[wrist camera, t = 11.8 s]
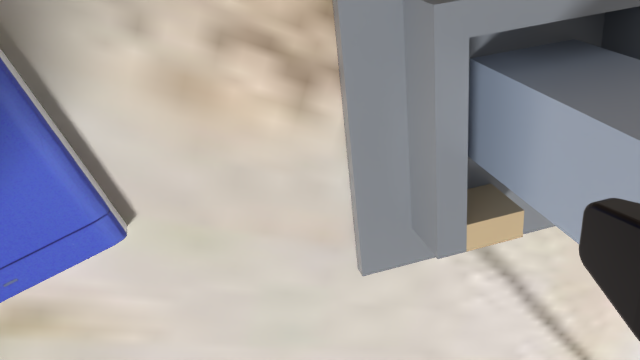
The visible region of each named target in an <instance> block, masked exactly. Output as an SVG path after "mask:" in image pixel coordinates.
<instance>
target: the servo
mask: <svg viewBox="0 0 640 360" xmlns="http://www.w3.org/2000/svg"><path fill="white" fill-rule="evenodd" d="M468 157H469V158H471V159H472V160H473V161H474V162H476V163H477V164H478V165H479V166H481V167H482V168H483V169H485V170H486V171H487V172H488V173H490V174H491V175H492V176H493V177H495V178H496V179H497V180H498V181H500V182H501V183H502V184H504V185H505V186H506V187H507V188H509V189H510V190H511V191H512V192H514V193H515V194H516V195H517V196H519V197H520V198H521V199H523V200H524V201H525V202H526V203H528V204H529V205H530V206H531V207H533V208H534V209H535V210H536V211H538V212H539V213H540V214H542V215H543V216H544V217H545V218H547V219H548V220H549V221H550V222H552V223H553V224H554V225H555V226H557V227H558V228H559V229H561V230H562V231H563V232H564V233H566V234H567V235H568V236H569V237H571V238H572V239H573V240H574V241H576V242H577V243H578V244H579V243H580V235H581V227H582V219H583V213H584V210H585V208H586V206H587V205H588V204H590V203H592V202H596V201H600V200H604V199H608V198H619V199H623V200H627V201H632V202H636V203H640V60H638V59H635V58H632V57H629V56H626V55H623V54H620V53H616V52H613V51H610V50H607V49H604V48H601V47H598V46H595V45H591V44H588V43H585V42H582V41H579V40H576V39H571V40H566V41H561V42H555V43H550V44H545V45H539V46H534V47H528V48H523V49H518V50H512V51H507V52H502V53H496V54H491V55H486V56H480V57H475V58H470V70H469V122H468Z"/></svg>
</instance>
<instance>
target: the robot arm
mask: <svg viewBox="0 0 640 360" xmlns="http://www.w3.org/2000/svg"><path fill="white" fill-rule="evenodd" d="M579 255H580V258H581V261H582V263H583V265H584V266H585V268H586V269H587V270H588V272H589V273H590V274H591V276H592V277H593V279H594V280H595V281H596V283H597V284H598V285H599V287H600V288H601V290H602V291H603V292H604V294H605V295H606V296H607V298H608V299H609V301H610V302H611V303H612V305H613V306H614V307H615V309H616V310H617V312H618V313H619V314H620V316H621V317H622V318H623V320H624V321H625V323H626V324H627V325H628V327H629V328H630V329H631V331H632V332H633V333H634V335H635V336H636V337H637V339H638V340H639V341H640V203H636V202H632V201H627V200H623V199H619V198H608V199H604V200H600V201H596V202H592V203H590V204H588V205H587V206H586V208H585V210H584V213H583V219H582V227H581V235H580V243H579Z"/></svg>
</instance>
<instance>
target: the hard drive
mask: <svg viewBox="0 0 640 360" xmlns="http://www.w3.org/2000/svg"><path fill="white" fill-rule="evenodd" d="M126 236H127V224H126V223H125V222H124V220H123V219H122V217H121V216H120V215H119V213H118V212H117V210H116V209H115V208H114V206H113V205H112V204H111V202H110V201H109V199H108V198H107V196H106V195H105V193H104V192H103V191H102V189H101V188H100V186H99V185H98V184H97V182H96V181H95V179H94V178H93V177H92V175H91V174H90V172H89V171H88V170H87V168H86V167H85V165H84V164H83V163H82V161H81V160H80V158H79V157H78V156H77V154H76V153H75V151H74V150H73V149H72V147H71V146H70V144H69V143H68V142H67V140H66V139H65V137H64V136H63V135H62V133H61V132H60V131H59V129H58V128H57V126H56V125H55V124H54V122H53V121H52V119H51V118H50V117H49V115H48V114H47V113H46V111H45V110H44V108H43V107H42V106H41V104H40V103H39V101H38V100H37V99H36V97H35V96H34V94H33V93H32V92H31V90H30V89H29V87H28V86H27V85H26V83H25V82H24V81H23V79H22V78H21V76H20V75H19V74H18V72H17V71H16V69H15V68H14V67H13V65H12V64H11V62H10V61H9V60H8V58H7V57H6V56H5V54H4V53H3V51H2V50H1V49H0V303H1V302H3V301H5V300H6V299H8V298H10V297H12V296H14V295H16V294H18V293H20V292H22V291H24V290H26V289H28V288H30V287H32V286H34V285H36V284H38V283H40V282H42V281H44V280H46V279H48V278H50V277H52V276H54V275H56V274H58V273H60V272H62V271H64V270H66V269H68V268H70V267H72V266H74V265H76V264H78V263H80V262H82V261H84V260H86V259H89V258H90V257H92V256H94V255H96V254H98V253H100V252H102V251H104V250H106V249H108V248H110V247H112V246H114V245H115V244H117V243H119V242H120V241H122V240H123V239H124V238H125V237H126Z"/></svg>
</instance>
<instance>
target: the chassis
mask: <svg viewBox="0 0 640 360" xmlns="http://www.w3.org/2000/svg"><path fill="white" fill-rule="evenodd" d="M333 10H334V20H335V31H336V41H337V52H338V62H339V73H340V83H341V94H342V104H343V115H344V126H345V136H346V147H347V157H348V168H349V178H350V189H351V199H352V210H353V220H354V231H355V241H356V252H357V262H358V269H359V271H360V273H361V274H362V276H366V275H370V274H373V273H377V272H381V271H385V270H389V269H392V268H396V267H400V266H404V265H408V264H412V263H415V262H419V261H423V260H427V259H431V258H435V257H436V258H437V259H440V258H444V257H448V256H451V255H455V254H459V253H463V252H467V251H470V250H474V249H478V248H482V247H486V246H490V245H493V244H497V243H501V242H505V241H509V240H512V239H516V238H520V237H523V234H526V233H530V232H534V231H538V230H541V229H545V228H549V227H553V226H555V225H554V224H553V223H552V222H550V221H549V220H548V219H547V218H545V217H544V216H543V215H542V214H540V213H539V212H538V211H536V210H535V209H534V208H533V207H531V206H530V205H529V204H528V203H526V202H525V201H524V200H523V199H521V198H520V197H519V196H517V195H516V194H515V193H514V192H512V191H511V190H510V189H509V188H507V187H506V186H505V185H504V184H502V183H501V182H500V181H498V180H497V179H496V178H495V177H493V176H492V175H491V174H490V173H488V172H487V171H486V170H485V169H483V168H482V167H481V166H479V165H478V164H477V163H476V162H474V161H473V160H472V159H471V158H469V157H468V122H469V70H470V58H475V57H480V56H486V55H491V54H496V53H502V52H507V51H512V50H518V49H523V48H528V47H534V46H539V45H545V44H550V43H555V42H561V41H566V40H571V39H576V40H579V41H582V42H585V43H588V44H591V45H595V46H598V47H601V48H604V49H607V50H610V51H613V52H616V53H620V54H623V55H626V56H629V57H632V58H635V59H638V60H640V0H333Z"/></svg>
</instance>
